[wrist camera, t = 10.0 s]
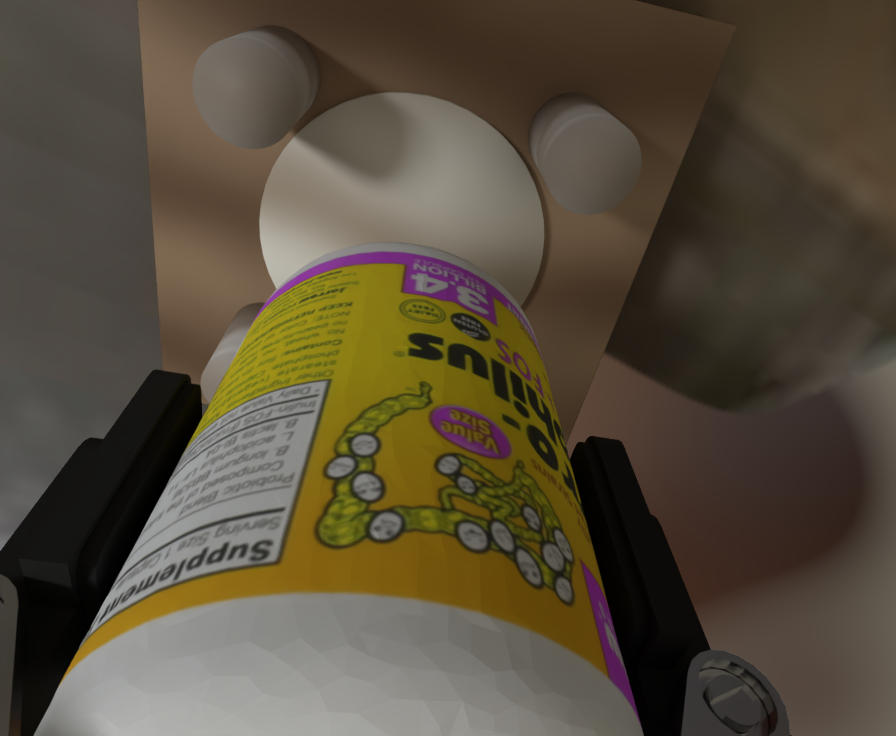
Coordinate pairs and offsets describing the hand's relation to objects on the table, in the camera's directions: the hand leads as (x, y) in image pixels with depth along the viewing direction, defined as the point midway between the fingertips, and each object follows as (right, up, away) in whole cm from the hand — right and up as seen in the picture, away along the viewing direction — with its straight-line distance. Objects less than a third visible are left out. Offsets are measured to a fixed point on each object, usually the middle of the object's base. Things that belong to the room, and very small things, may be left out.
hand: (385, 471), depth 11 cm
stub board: (0, +7, +10) cm, 13 cm away
